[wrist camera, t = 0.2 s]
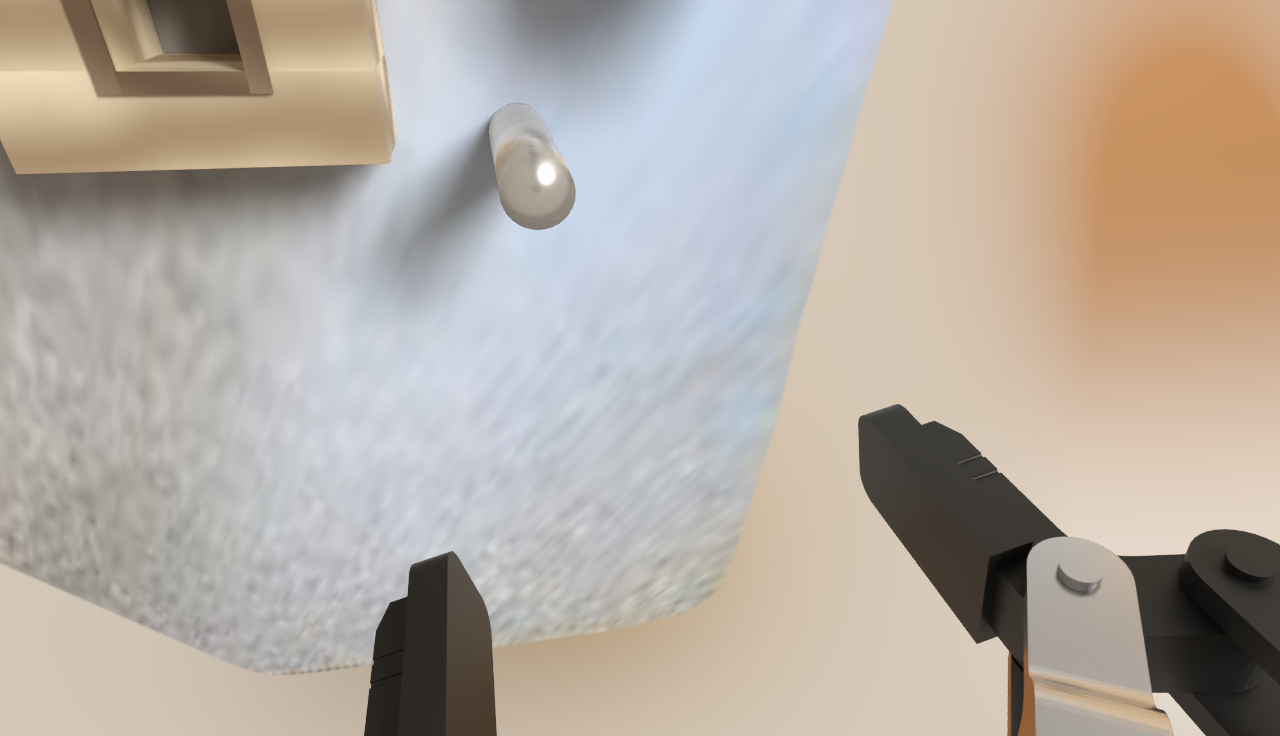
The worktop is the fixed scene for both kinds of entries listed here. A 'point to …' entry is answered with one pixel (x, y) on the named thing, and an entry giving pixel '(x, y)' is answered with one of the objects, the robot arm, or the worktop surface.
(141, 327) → the worktop surface
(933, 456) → the robot arm
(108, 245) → the worktop surface
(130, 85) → the wooden peg hole block
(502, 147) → the steel pin
